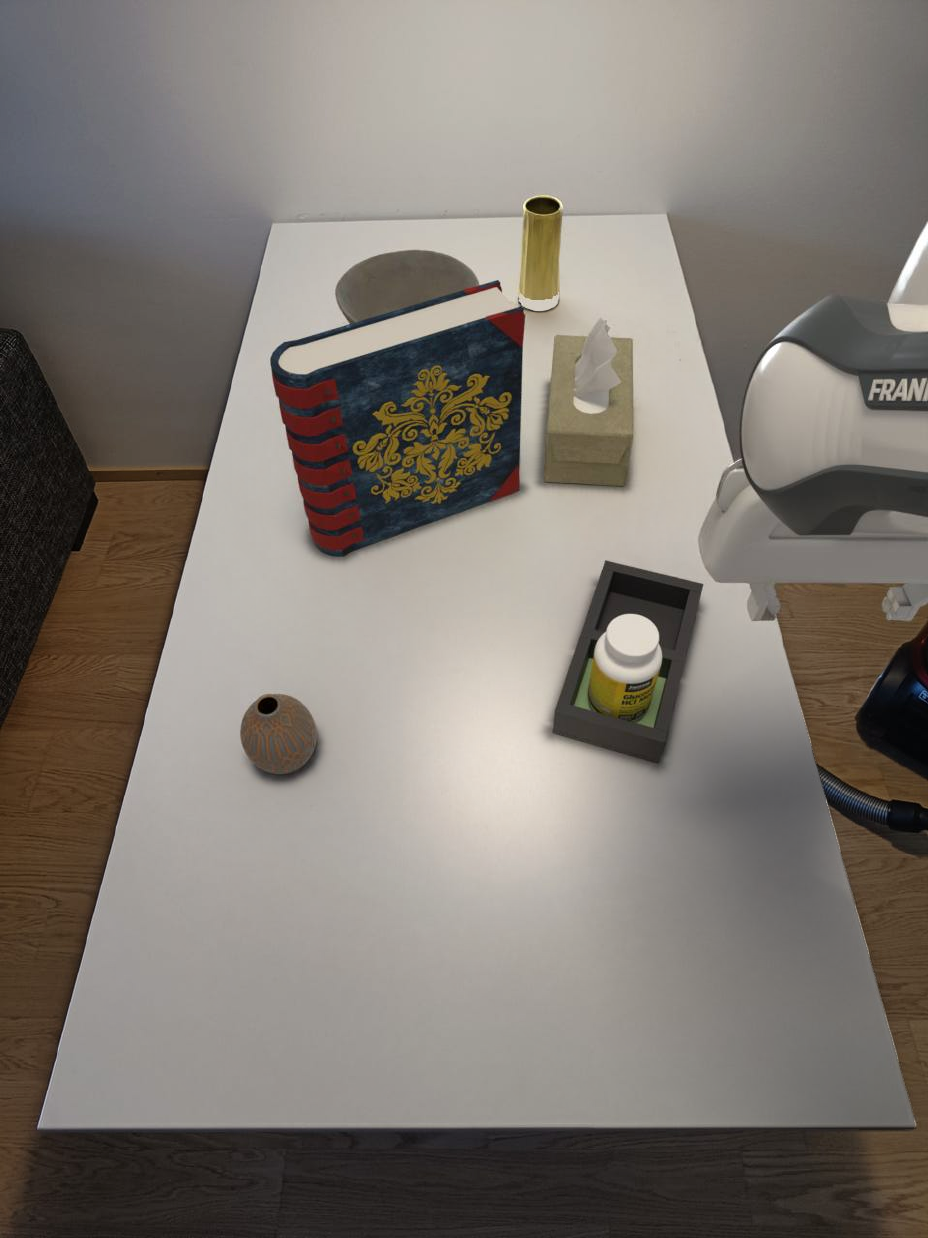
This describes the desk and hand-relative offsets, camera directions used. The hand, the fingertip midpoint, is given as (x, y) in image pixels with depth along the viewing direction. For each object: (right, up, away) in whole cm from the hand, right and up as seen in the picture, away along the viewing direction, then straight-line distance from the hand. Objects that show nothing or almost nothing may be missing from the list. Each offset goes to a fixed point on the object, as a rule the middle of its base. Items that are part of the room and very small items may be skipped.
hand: (827, 614), depth 60 cm
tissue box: (-9, +23, +51) cm, 57 cm away
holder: (-8, -5, +30) cm, 31 cm away
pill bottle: (-10, -8, +27) cm, 30 cm away
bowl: (-32, +36, +62) cm, 79 cm away
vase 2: (-14, +46, +69) cm, 84 cm away
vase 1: (-42, -13, +25) cm, 51 cm away
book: (-31, +12, +44) cm, 55 cm away
